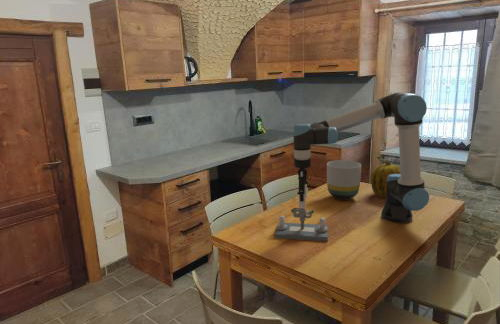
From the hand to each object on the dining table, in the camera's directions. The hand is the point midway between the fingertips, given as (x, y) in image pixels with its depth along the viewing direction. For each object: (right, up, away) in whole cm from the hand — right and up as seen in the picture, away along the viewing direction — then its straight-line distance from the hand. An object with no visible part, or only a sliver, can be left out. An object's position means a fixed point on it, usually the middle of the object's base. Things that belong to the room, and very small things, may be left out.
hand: (303, 202), depth 178 cm
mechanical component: (0, -13, +3) cm, 14 cm away
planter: (+31, -3, +50) cm, 59 cm away
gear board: (0, -15, +4) cm, 16 cm away
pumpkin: (+58, -2, +52) cm, 78 cm away
